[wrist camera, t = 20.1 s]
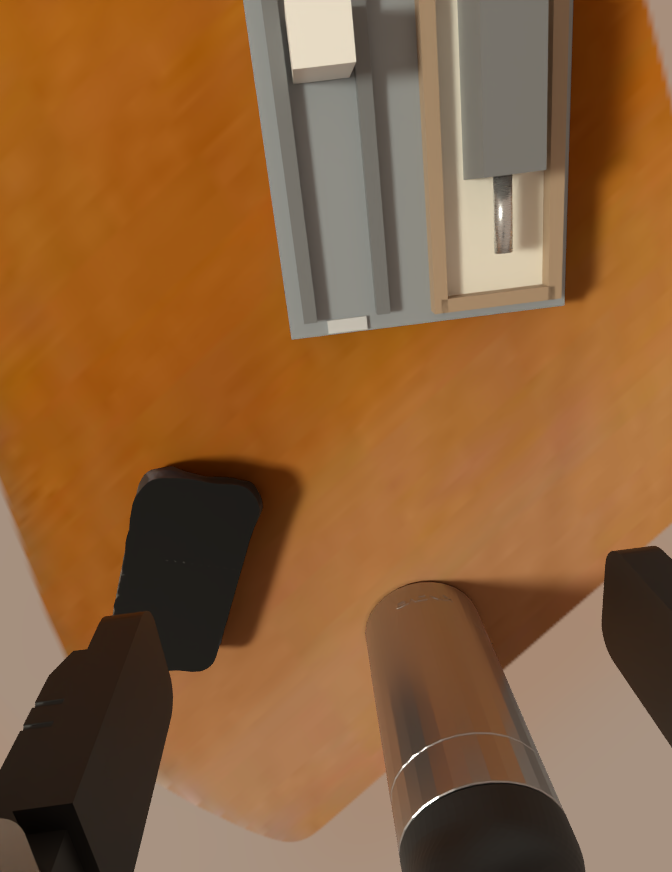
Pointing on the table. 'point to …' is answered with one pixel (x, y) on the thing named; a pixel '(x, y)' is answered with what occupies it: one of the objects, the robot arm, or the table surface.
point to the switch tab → (320, 39)
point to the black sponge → (186, 559)
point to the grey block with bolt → (503, 97)
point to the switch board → (401, 177)
